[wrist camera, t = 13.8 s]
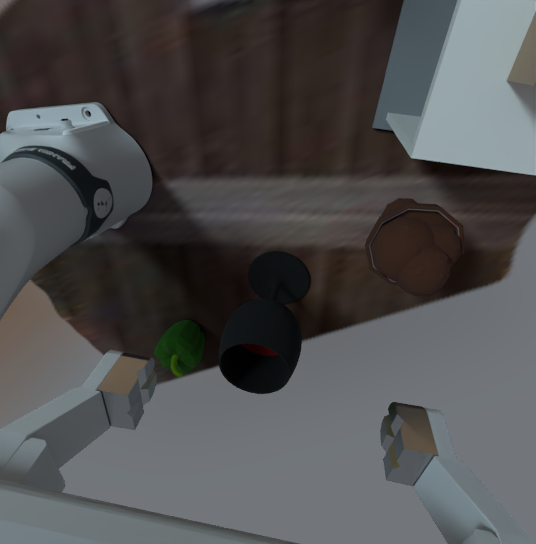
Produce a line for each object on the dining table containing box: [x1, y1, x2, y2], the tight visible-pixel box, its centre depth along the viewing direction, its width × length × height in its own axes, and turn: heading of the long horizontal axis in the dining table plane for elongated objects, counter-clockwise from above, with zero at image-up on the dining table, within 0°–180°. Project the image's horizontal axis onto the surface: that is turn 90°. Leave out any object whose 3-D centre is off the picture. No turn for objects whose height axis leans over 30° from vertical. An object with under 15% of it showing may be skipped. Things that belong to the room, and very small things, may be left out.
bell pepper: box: [154, 320, 205, 377], centre depth 64 cm, size 8×8×10 cm
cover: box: [386, 0, 536, 175], centre depth 28 cm, size 13×16×22 cm
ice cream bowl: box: [365, 198, 464, 296], centre depth 42 cm, size 11×11×15 cm
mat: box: [372, 0, 457, 131], centre depth 37 cm, size 16×18×1 cm
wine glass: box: [219, 251, 310, 394], centre depth 49 cm, size 10×10×20 cm
